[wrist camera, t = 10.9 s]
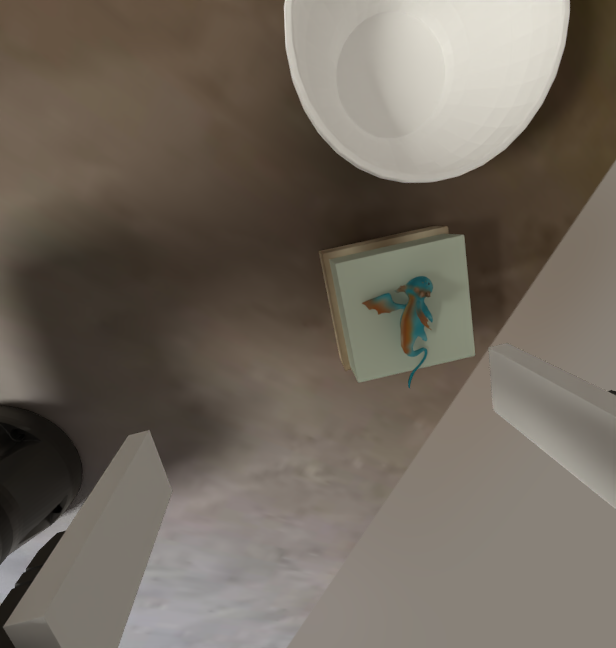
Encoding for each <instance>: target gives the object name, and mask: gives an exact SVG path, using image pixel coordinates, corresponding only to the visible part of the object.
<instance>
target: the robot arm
mask: <svg viewBox="0 0 616 648" xmlns="http://www.w3.org/2000/svg"><path fill="white" fill-rule="evenodd" d="M488 349H489V362H490V376H491V390H492V402H493V410H494V411H495V412H496V413H497V414H499V415H500V416H501V417H502V418H504V419H505V420H506V421H507V422H508V423H510V424H511V425H512V426H513V427H515V428H516V429H518V431H520V432H521V433H522V434H523V435H525V436H526V437H527V438H528V439H530V440H531V441H532V442H533V443H534V444H536V445H537V446H538V447H539V448H541V449H542V450H543V451H544V452H546V453H547V454H548V455H549V456H551V457H552V458H553V459H554V460H556V461H557V462H558V463H559V464H561V465H562V466H563V467H564V468H565V469H567V470H568V471H569V472H571V473H572V474H573V475H574V476H575V477H577V478H578V479H579V480H580V481H582V482H583V483H584V484H585V485H587V486H588V487H589V488H591V490H593V491H594V492H595V493H597V494H598V495H599V496H600V497H601V498H603V499H604V500H605V501H606V502H608V503H609V504H610V505H611V506H613V507H614V508H615V509H616V391H612V390H611V391H606V390H604V389H602V388H600V387H597V386H595V385H593V384H591V383H589V382H587V381H585V380H583V379H581V378H579V377H577V376H575V375H573V374H571V373H568V372H566V371H564V370H562V369H560V368H558V367H556V366H554V365H552V364H550V363H548V362H546V361H543V360H541V359H539V358H537V357H535V356H533V355H531V354H529V353H527V352H525V351H523V350H521V349H519V348H516V347H514V346H512V345H510V344H508V343H505V344H501V345H497V346H492V347H488ZM81 481H82V465H81V461H80V457H79V455H78V452H77V450H76V448H75V446H74V445H73V443H72V442H71V440H70V439H69V438H68V437H67V436H66V434H65V433H64V432H63V431H62V430H60V429H59V428H58V427H57V426H56V425H54V424H53V423H52V422H50V421H48V420H47V419H45V418H43V417H41V416H39V415H37V414H35V413H32V412H30V411H27V410H23V409H19V408H15V407H8V406H0V565H1V563H2V562H3V561H4V560H5V559H6V557H7V556H8V555H9V554H11V553H12V552H14V551H15V550H16V549H18V548H19V547H21V546H22V545H24V544H25V543H26V542H28V541H29V540H31V539H32V538H33V537H35V536H36V535H38V534H39V533H40V532H42V531H43V530H45V529H46V528H48V527H49V526H50V525H52V524H53V523H54V522H55V521H56V520H57V519H58V518H59V517H60V516H61V515H62V514H63V513H64V512H65V510H66V509H67V508H68V506H69V505H70V504H71V502H72V501H73V500H74V498H75V497H76V495H77V493H78V491H79V488H80V485H81ZM171 494H172V488H171V486H170V483H169V480H168V478H167V475H166V473H165V470H164V467H163V465H162V462H161V459H160V457H159V454H158V451H157V449H156V446H155V443H154V441H153V438H152V436H151V433H150V430H148V431H144V432H140V433H135V434H131V435H128V437H127V438H126V440H125V441H124V443H123V444H122V446H121V448H120V449H119V451H118V452H117V454H116V455H115V457H114V458H113V460H112V461H111V463H110V464H109V466H108V467H107V469H106V470H105V472H104V473H103V475H102V477H101V478H100V480H99V481H98V483H97V484H96V486H95V487H94V489H93V490H92V492H91V493H90V495H89V496H88V498H87V499H86V501H85V503H84V504H83V506H82V507H81V509H80V510H79V512H78V513H77V515H76V516H75V518H74V519H73V521H72V522H71V524H70V525H69V527H68V528H67V530H66V531H63V532H59V533H57V534H56V535H55V536H54V537H52V538H51V539H50V540H49V541H48V542H47V543H46V544H45V545H44V546H43V547H42V548H41V549H40V550H39V551H38V552H37V554H36V555H35V557H34V558H33V560H32V561H31V563H30V564H29V565H28V567H27V568H26V572H25V573H23V574H22V575H21V577H20V578H19V580H18V581H17V583H16V584H15V588H13V589H12V590H11V591H10V593H9V594H8V595H7V597H6V598H5V600H4V601H3V603H2V604H1V606H0V648H118V646H119V643H120V640H121V637H122V634H123V631H124V628H125V626H126V623H127V620H128V617H129V614H130V611H131V608H132V606H133V603H134V600H135V597H136V594H137V591H138V588H139V586H140V583H141V580H142V577H143V574H144V571H145V568H146V566H147V563H148V560H149V557H150V554H151V551H152V548H153V546H154V543H155V540H156V537H157V534H158V531H159V528H160V526H161V523H162V520H163V517H164V514H165V511H166V509H167V506H168V503H169V500H170V497H171Z"/></svg>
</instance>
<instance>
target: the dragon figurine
mask: <svg viewBox="0 0 616 648" xmlns="http://www.w3.org/2000/svg"><path fill="white" fill-rule="evenodd" d="M432 290H433V284H432V282H431V280H430V279H429V278H427V277H425V276H418V277H415V278H413V279H411V280H410V281H409V282H408V283H407V284H406V285H403V286H400V287H399V288H398V289H397V290H395V292H396V293H399V292H404V293H405V294H406V295H407V296H408V298H409V300H408V302H407V304H397V303H395V302H394V301H393V300H392V297H391V294H390V293H386V294H383V295H380V296H378V297H376V298H373V299H370V300H368V301H365V302H363V303H362V304H364V305H365V306H366V307H367V308H368V309H369V310H371V309H375V310H377V312H378V315H379V314H381V313H390V312H392V311H395V310H398V309H404V310H403V313H402V315H401V318H400V330H401V337H400V339H401V347H402V349H403V351H404V353H405V354H407V355H408V356H410V357H415V356H418V355H419V354H420V353H422V352H423V351H424V352H425V354H424V357H423V359H422V360H421V362H420V363H419V364H418V366H417V367H416V368H415V369H414V370H413V371H412V373H411V375H410V377H409V381H408V386H409V388H410V383H411V380H412V377H413V375H414V373H415V371H416V370H417V369H418V368H419V367H420V366H421V364H422V363H423V362H424V360H425V359H426V357H427V349H426V348H420V349H418V350H415V351H414V350H413V345H414V343H415V340H416V339H417V337H418V336H419V337H421V338H422V340H424V341H427V335H426V333H425V331H424V326H426V327H427V328H428V329H430V328H429V325H428V324H427V322H428V319H429V321H431V322H433V318H432V315H431V313H430V311H429V309H428V307H427V306H426V304H425V303H424V299H425V298H426V297H431V296H430V294H431V292H432ZM427 318H428V319H427ZM430 330H432V329H430Z"/></svg>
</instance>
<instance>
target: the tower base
mask: <svg viewBox="0 0 616 648" xmlns="http://www.w3.org/2000/svg"><path fill="white" fill-rule="evenodd" d="M439 234H449V232H448V226H431V227H426V228H422V229H417V230H413V231H408V232H404V233H399V234H395V235H390V236H385V237H381V238H376V239H372V240H367V241H363V242H358V243H354V244H349V245H345V246H340V247H336V248H331V249H327V250H322V251H319V255H320V260H321V265H322V270H323V275H324V280H325V285H326V290H327V295H328V300H329V305H330V310H331V315H332V320H333V325H334V330H335V335H336V340H337V345H338V350H339V355H340V360H341V362H342V364H343V366H344V368H345V371H347V370H351V367H350V363H349V358H348V353H347V348H346V343H345V338H344V333H343V328H342V323H341V318H340V313H339V307H338V302H337V297H336V292H335V287H334V282H333V277H332V272H331V267H330V262H329V259H333V258H337V257H342V256H346V255H351V254H355V253H360V252H364V251H368V250H373V249H377V248H382V247H386V246H390V245H395V244H399V243H404V242H408V241H413V240H417V239H421V238H426V237H430V236H435V235H439Z"/></svg>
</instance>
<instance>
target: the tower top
mask: <svg viewBox="0 0 616 648" xmlns="http://www.w3.org/2000/svg"><path fill="white" fill-rule="evenodd" d="M329 262H330V267H331V272H332V277H333V282H334V287H335V292H336V297H337V302H338V307H339V313H340V318H341V323H342V328H343V333H344V338H345V343H346V348H347V353H348V358H349V363H350V367H351V369H352V371H353V373H354V375H355V377H356V379H357V381H358V383H360V382H364V381H368V380H372V379H377V378H381V377H385V376H390V375H394V374H398V373H403V372H407V371H411V370H414V369H415V368H416V367H417V366H418V364H419V363H420V362H421V360H422V359H423V357H424V354H425V352H424V351H423V352H422V353H420V354H419V355H418V356H415V357H410V356H408V355H407V354H405V353H404V351H403V349H402V347H401V339H400V337H401V330H400V318H401V315H402V313H403V310H404V309H398V310H395V311H392V312H390V313H381V314H379V315H378V312H377V310H375V309H371V310H369V309H368V308H367V307H366V306H365V305H364V304H362V303H363V302H365V301H368V300H370V299H373V298H376V297H378V296H380V295H383V294H386V293H390V294H391V297H392V300H393V301H394V302H395V303H397V304H407V302H408V300H409V298H408V296H407V295H406V294H405V293H404V292H399V293H396V292H395V290H397V289H398V288H399V287H400V286H403V285H406V284H407V283H408V282H409V281H410V280H411V279H413V278H415V277H418V276H425V277H427V278H429V279H430V280H431V282H432V284H433V290H432V292H431V294H430V296H431V297H426V298H425V299H424V303H425V304H426V306H427V307H428V309H429V311H430V313H431V315H432V318H433V322H431V321H429V319H428V318H427V319H428V322H427V324H428V325H429V328H430V329H432V330H430V329H428V328H427V327H426V326H424V331H425V333H426V335H427V341H424V340H422V338H421V337H419V336H418V337H417V339H416V340H415V343H414V345H413V350H414V351H415V350H418V349H420V348H426V349H427V357H426V359H425V360H424V362H423V363H422V364H421V366H420V367H419V368H418V369H420V368H424V367H429V366H433V365H437V364H442V363H446V362H450V361H454V360H459V359H463V358H467V357H472V356H475V348H474V337H473V326H472V315H471V304H470V294H469V283H468V272H467V261H466V250H465V239H464V235H459V234H439V235H435V236H430V237H426V238H421V239H417V240H413V241H408V242H404V243H399V244H395V245H390V246H386V247H382V248H377V249H373V250H368V251H364V252H360V253H355V254H351V255H346V256H342V257H337V258H333V259H329Z"/></svg>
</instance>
